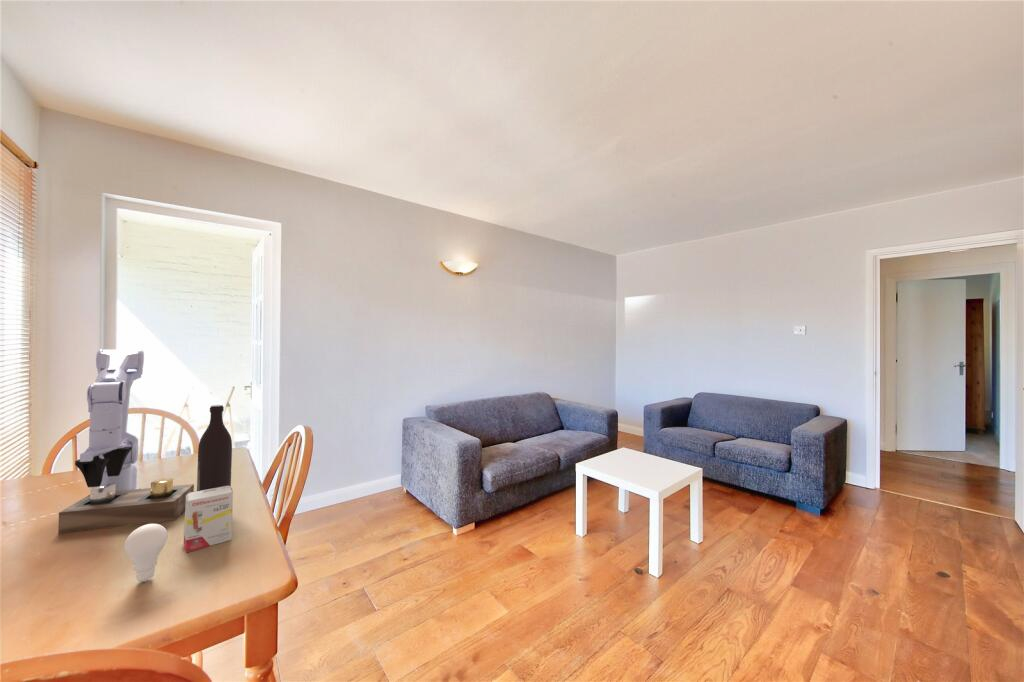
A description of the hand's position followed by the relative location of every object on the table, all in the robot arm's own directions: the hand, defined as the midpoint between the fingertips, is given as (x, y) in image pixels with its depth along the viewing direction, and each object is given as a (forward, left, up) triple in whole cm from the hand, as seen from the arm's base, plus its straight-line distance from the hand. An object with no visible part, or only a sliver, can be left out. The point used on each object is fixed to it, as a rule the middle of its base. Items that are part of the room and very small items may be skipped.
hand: (104, 481), depth 97 cm
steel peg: (0, 0, -6) cm, 6 cm away
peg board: (0, +6, -10) cm, 11 cm away
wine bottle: (+8, +26, -10) cm, 29 cm away
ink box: (+21, +29, -10) cm, 37 cm away
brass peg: (0, +12, -6) cm, 13 cm away
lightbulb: (+34, +23, -10) cm, 42 cm away
